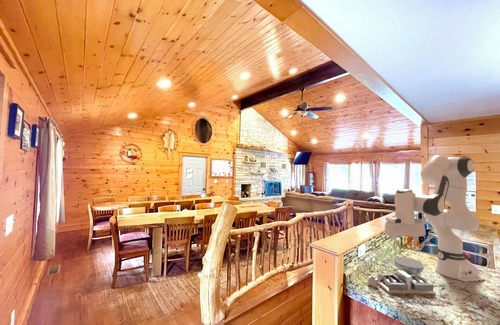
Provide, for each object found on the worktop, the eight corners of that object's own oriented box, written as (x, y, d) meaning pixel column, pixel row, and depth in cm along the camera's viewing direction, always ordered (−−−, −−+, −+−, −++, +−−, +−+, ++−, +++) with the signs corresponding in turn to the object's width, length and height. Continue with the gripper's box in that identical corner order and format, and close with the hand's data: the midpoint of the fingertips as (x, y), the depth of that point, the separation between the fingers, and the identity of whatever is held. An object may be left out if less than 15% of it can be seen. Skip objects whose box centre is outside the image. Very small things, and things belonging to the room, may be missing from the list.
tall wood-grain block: (402, 281, 117) (402, 270, 117) (411, 288, 110) (411, 276, 110) (397, 281, 117) (397, 270, 117) (406, 288, 110) (406, 276, 110)
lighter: (368, 285, 116) (368, 270, 116) (369, 283, 117) (369, 269, 117) (383, 290, 111) (383, 274, 111) (384, 289, 112) (384, 273, 112)
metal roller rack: (419, 283, 119) (419, 274, 119) (435, 294, 108) (435, 285, 108) (376, 281, 119) (376, 273, 119) (388, 292, 109) (388, 284, 109)
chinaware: (387, 270, 133) (387, 258, 133) (403, 267, 138) (403, 255, 138) (413, 283, 119) (413, 269, 119) (430, 278, 124) (430, 265, 124)
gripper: (419, 217, 120) (419, 241, 119) (382, 217, 120) (383, 242, 120) (428, 220, 113) (429, 246, 113) (390, 220, 113) (390, 246, 113)
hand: (405, 244), depth 116 cm, fingers open, 8 cm apart
